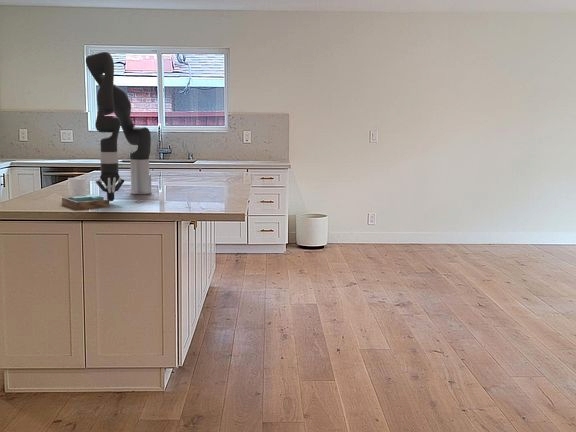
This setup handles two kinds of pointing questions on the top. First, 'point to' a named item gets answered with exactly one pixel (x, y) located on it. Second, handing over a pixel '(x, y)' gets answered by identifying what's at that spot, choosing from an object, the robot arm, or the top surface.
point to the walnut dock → (85, 203)
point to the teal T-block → (87, 198)
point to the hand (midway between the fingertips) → (110, 200)
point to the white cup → (77, 187)
